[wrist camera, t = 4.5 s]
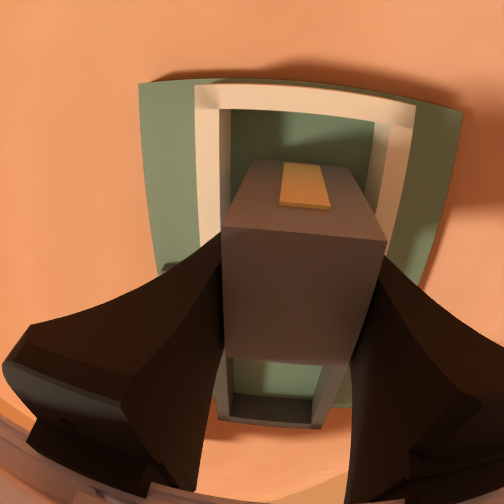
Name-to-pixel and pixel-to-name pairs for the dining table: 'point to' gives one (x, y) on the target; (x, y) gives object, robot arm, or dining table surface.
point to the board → (296, 150)
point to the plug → (298, 264)
